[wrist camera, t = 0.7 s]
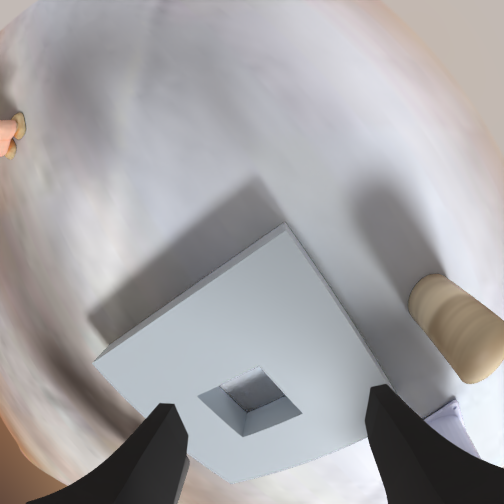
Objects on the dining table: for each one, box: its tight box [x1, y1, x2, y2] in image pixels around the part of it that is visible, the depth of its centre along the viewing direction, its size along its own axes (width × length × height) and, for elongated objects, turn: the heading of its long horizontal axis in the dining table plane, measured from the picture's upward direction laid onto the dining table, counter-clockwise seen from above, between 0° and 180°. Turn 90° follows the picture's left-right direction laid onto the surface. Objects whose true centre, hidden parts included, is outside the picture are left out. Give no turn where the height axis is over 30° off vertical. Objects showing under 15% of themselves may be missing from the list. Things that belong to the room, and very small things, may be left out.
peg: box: [408, 274, 504, 384], centre depth 15 cm, size 4×4×8 cm
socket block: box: [92, 222, 397, 484], centre depth 20 cm, size 18×18×3 cm
